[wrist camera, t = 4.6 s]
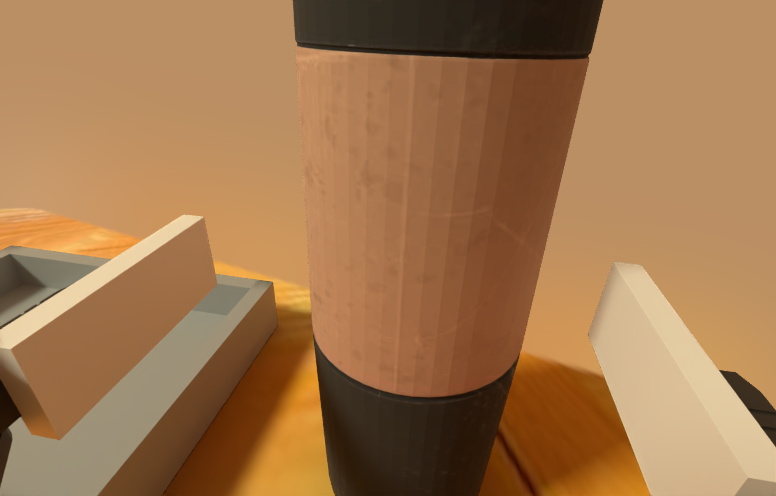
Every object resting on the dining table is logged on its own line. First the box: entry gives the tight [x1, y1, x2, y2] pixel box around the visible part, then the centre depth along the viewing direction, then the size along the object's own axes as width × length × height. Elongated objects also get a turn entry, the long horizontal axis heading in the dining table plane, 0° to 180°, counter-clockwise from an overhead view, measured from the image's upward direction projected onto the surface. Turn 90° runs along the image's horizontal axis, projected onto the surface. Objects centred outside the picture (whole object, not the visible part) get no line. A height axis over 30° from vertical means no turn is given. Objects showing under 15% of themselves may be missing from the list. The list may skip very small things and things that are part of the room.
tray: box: [0, 246, 278, 496], centre depth 21 cm, size 20×16×4 cm
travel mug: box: [293, 0, 603, 496], centre depth 14 cm, size 8×8×20 cm
